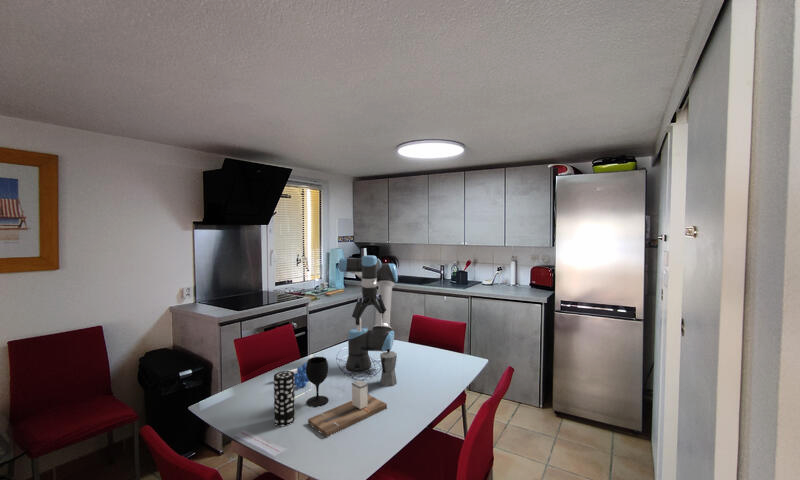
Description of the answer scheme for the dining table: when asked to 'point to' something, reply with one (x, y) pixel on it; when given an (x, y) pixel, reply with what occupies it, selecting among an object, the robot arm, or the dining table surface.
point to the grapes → (301, 376)
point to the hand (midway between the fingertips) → (369, 328)
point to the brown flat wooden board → (345, 416)
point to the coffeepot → (388, 368)
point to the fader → (359, 394)
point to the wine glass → (317, 379)
